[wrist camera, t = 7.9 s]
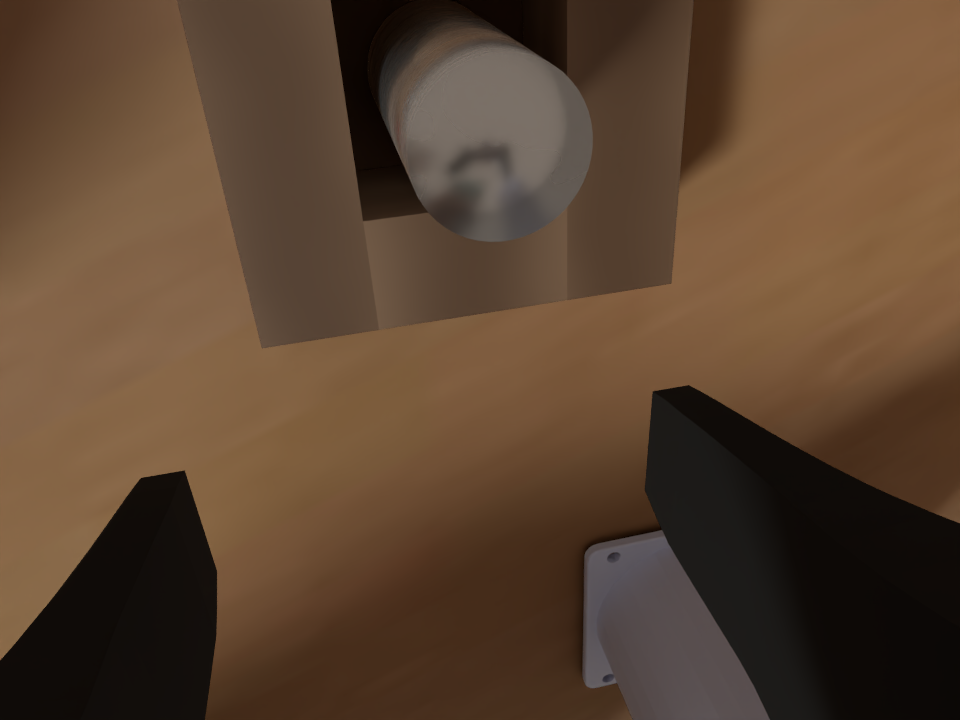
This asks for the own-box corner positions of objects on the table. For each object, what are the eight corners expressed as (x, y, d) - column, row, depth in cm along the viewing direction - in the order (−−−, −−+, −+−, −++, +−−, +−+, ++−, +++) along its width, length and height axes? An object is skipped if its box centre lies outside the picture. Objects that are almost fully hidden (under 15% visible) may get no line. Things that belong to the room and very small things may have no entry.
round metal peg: (498, -4, 18) (599, 47, 13) (496, 132, 20) (585, 233, 14) (362, -1, 18) (402, 55, 12) (371, 139, 19) (411, 249, 14)
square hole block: (636, -198, 17) (710, -214, 14) (620, 231, 22) (671, 283, 19) (160, -170, 15) (132, -182, 13) (264, 283, 21) (261, 348, 18)
